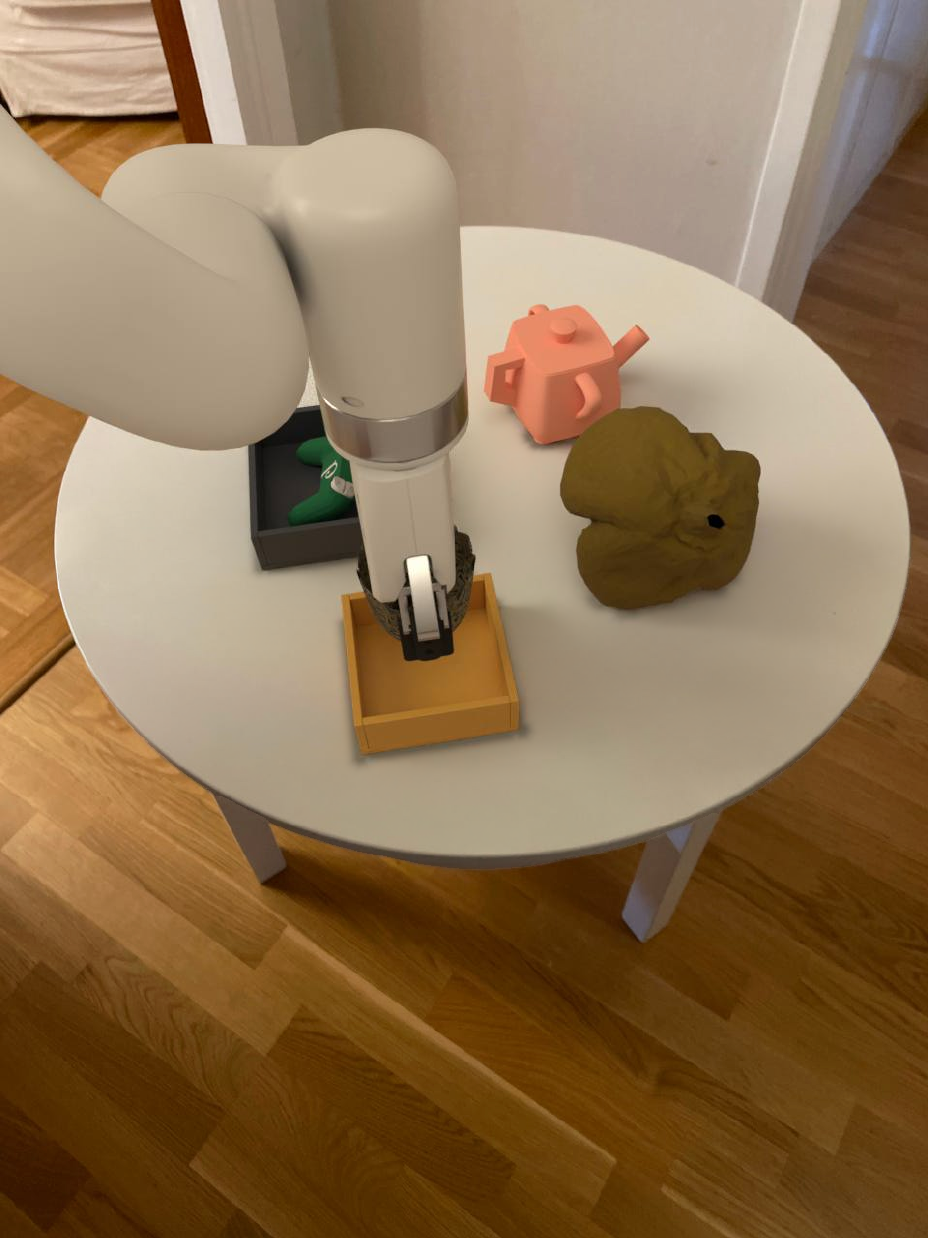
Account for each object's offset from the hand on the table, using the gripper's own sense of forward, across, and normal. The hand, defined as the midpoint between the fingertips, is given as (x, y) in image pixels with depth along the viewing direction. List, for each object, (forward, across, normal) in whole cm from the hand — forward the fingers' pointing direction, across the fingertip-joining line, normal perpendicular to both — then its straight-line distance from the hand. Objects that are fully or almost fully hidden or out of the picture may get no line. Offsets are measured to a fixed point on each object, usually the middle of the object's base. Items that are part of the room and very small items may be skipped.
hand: (420, 603), depth 61 cm
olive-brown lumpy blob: (+9, -6, +19) cm, 22 cm away
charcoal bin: (+9, -20, -6) cm, 22 cm away
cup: (+4, 0, 0) cm, 4 cm away
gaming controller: (+9, -20, -6) cm, 22 cm away
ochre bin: (+9, 0, 0) cm, 9 cm away
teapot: (+9, -26, +16) cm, 32 cm away
